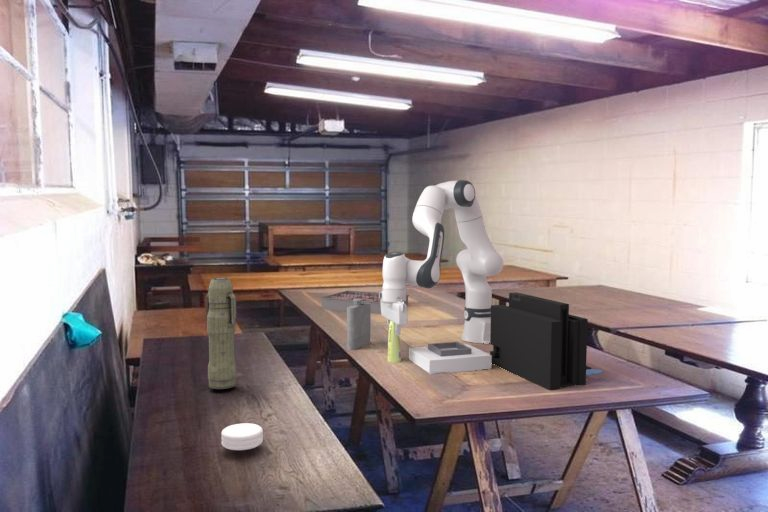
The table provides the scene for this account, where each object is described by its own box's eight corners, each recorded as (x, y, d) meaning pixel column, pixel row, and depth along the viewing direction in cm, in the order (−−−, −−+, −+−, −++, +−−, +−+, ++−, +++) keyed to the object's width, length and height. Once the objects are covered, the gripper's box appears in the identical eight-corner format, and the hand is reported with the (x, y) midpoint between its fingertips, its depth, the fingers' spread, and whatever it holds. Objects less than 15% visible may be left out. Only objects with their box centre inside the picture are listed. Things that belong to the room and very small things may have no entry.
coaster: (213, 447, 153) (212, 433, 153) (236, 433, 163) (236, 420, 162) (248, 453, 150) (248, 439, 149) (270, 439, 159) (270, 425, 159)
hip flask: (352, 351, 252) (352, 302, 250) (343, 350, 254) (343, 301, 252) (371, 343, 266) (371, 297, 264) (363, 342, 268) (363, 296, 266)
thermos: (216, 379, 211) (214, 275, 209) (245, 383, 207) (243, 277, 204) (198, 386, 203) (196, 278, 200) (228, 391, 199) (226, 280, 196)
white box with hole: (466, 356, 245) (467, 338, 244) (491, 369, 226) (491, 349, 225) (408, 360, 237) (409, 342, 237) (429, 374, 218) (429, 354, 218)
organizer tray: (347, 303, 372) (347, 287, 371) (409, 309, 355) (409, 291, 354) (319, 312, 343) (319, 294, 343) (385, 318, 326) (385, 299, 326)
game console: (489, 364, 233) (491, 292, 231) (555, 356, 245) (557, 288, 243) (549, 389, 201) (552, 307, 199) (622, 379, 213) (625, 301, 211)
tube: (383, 362, 235) (383, 310, 234) (391, 359, 239) (392, 308, 237) (395, 364, 231) (395, 312, 230) (403, 362, 235) (403, 310, 234)
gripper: (412, 299, 224) (412, 338, 226) (393, 292, 244) (393, 327, 245) (395, 300, 222) (395, 339, 224) (377, 292, 242) (377, 328, 243)
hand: (394, 332), depth 234 cm, fingers closed on tube, 6 cm apart
